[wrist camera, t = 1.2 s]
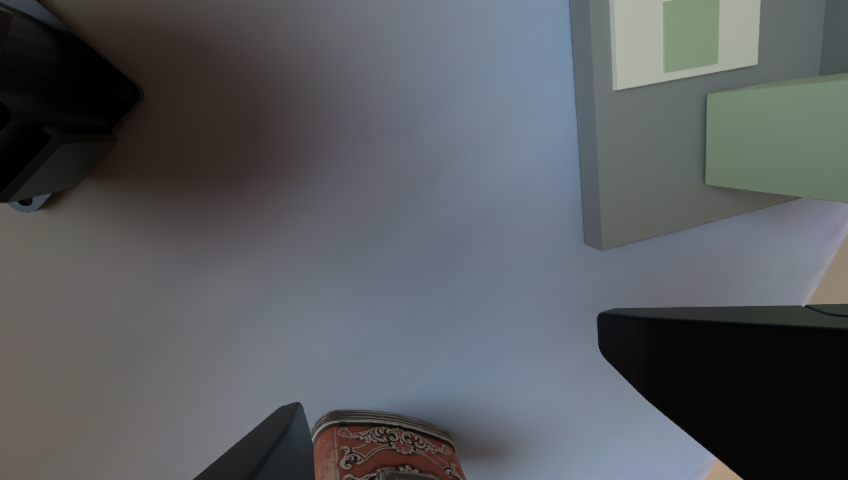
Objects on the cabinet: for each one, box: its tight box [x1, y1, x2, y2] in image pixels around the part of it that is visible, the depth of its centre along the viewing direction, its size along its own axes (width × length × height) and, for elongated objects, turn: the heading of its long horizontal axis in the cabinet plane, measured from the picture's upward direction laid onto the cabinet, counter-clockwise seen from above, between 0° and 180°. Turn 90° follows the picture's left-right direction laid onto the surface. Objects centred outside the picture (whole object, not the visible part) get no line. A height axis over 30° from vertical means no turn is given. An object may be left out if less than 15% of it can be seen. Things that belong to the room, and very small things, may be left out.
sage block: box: [705, 73, 848, 203], centre depth 18 cm, size 4×5×9 cm
